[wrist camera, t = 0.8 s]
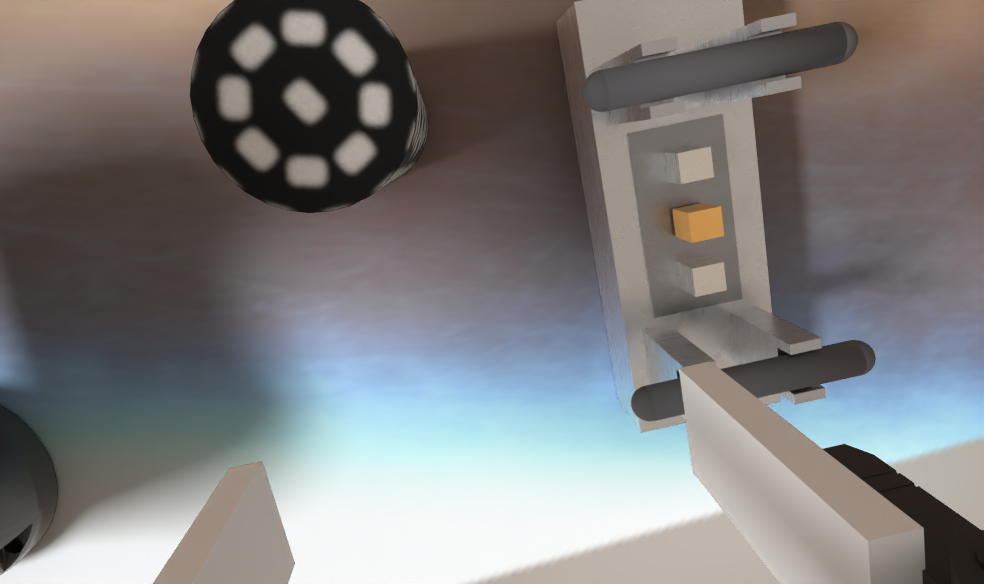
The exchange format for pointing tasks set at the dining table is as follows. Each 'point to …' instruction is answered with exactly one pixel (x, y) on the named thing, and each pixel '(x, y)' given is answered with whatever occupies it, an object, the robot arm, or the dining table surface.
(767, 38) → the dark grey rod
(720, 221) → the breaker paddle
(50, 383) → the dining table surface
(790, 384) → the dark grey bar handle
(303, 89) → the spotted tube
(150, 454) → the dining table surface
